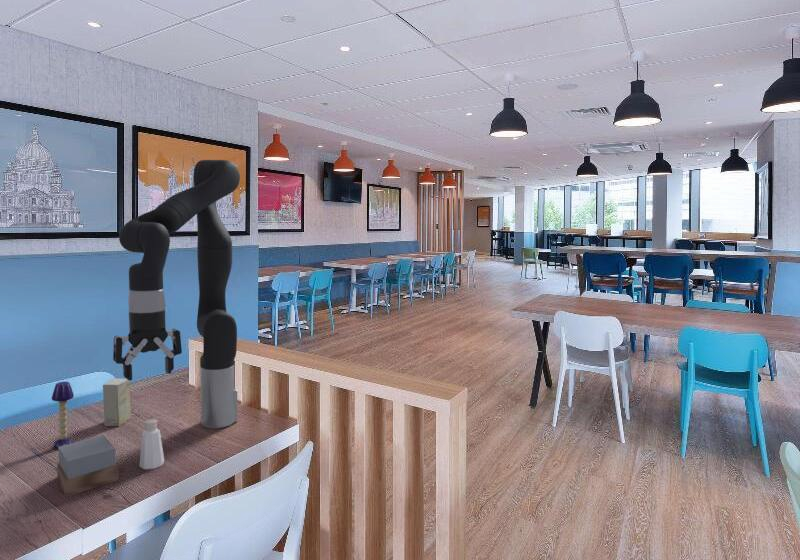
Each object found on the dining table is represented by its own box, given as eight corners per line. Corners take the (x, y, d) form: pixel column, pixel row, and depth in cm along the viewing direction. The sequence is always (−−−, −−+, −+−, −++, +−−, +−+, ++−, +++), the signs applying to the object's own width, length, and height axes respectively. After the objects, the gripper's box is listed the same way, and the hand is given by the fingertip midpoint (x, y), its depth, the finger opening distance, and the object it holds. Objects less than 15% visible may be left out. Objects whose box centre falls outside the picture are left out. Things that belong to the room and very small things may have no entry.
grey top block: (104, 451, 117) (103, 435, 116) (115, 465, 111) (115, 448, 110) (59, 463, 110) (58, 446, 110) (68, 479, 104) (67, 461, 104)
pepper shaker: (154, 471, 115) (152, 426, 114) (134, 468, 116) (132, 423, 115) (169, 460, 121) (168, 417, 119) (150, 457, 122) (148, 415, 120)
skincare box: (119, 426, 139) (117, 385, 137) (103, 426, 139) (101, 384, 137) (131, 418, 145) (130, 378, 143) (116, 417, 145) (115, 377, 144)
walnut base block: (107, 465, 118) (107, 449, 118) (118, 482, 111) (117, 465, 110) (57, 479, 111) (56, 462, 111) (65, 498, 104) (64, 480, 104)
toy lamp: (72, 439, 130) (69, 378, 128) (78, 445, 127) (75, 382, 125) (51, 445, 126) (47, 383, 124) (57, 451, 123) (53, 387, 121)
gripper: (173, 303, 122) (175, 367, 123) (108, 309, 112) (111, 377, 114) (184, 307, 116) (186, 374, 118) (116, 314, 106) (119, 386, 108)
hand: (149, 376), depth 116 cm, fingers open, 8 cm apart
